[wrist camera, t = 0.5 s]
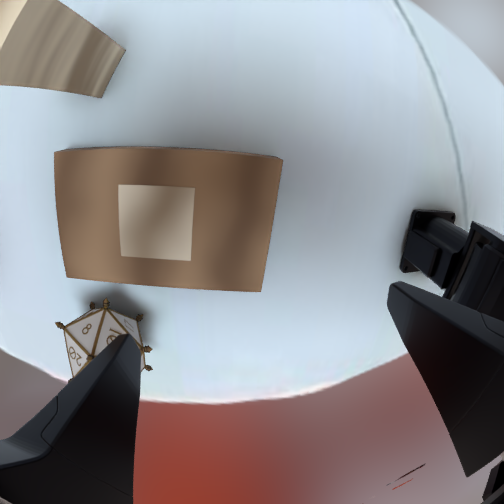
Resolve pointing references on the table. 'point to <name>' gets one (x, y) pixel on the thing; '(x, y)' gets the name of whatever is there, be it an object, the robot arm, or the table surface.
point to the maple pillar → (54, 48)
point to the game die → (98, 335)
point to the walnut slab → (166, 215)
